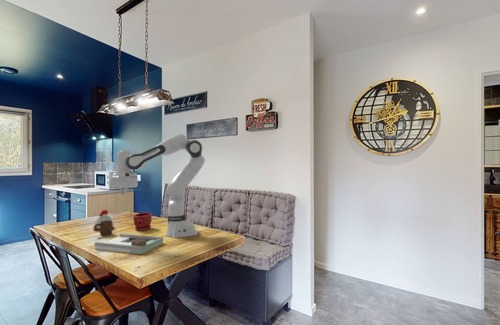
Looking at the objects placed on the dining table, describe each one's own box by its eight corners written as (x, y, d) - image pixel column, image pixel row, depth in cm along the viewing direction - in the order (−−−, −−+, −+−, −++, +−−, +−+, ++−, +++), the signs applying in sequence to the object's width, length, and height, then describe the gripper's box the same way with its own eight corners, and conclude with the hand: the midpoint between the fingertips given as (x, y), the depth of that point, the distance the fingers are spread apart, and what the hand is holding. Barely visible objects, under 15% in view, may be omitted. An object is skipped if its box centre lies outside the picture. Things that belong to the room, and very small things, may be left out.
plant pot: (136, 227, 201) (136, 212, 201) (153, 226, 202) (153, 212, 202) (130, 231, 188) (130, 216, 188) (148, 231, 189) (148, 215, 189)
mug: (96, 238, 172) (96, 224, 172) (91, 236, 176) (91, 223, 177) (114, 233, 182) (114, 221, 182) (108, 232, 186) (108, 220, 187)
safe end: (129, 252, 143) (129, 246, 143) (152, 242, 162) (152, 236, 162) (141, 254, 140) (141, 248, 140) (163, 243, 159) (162, 237, 159)
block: (131, 247, 146) (131, 240, 146) (141, 244, 151) (141, 238, 151) (136, 249, 142) (136, 242, 142) (146, 246, 147) (146, 239, 147)
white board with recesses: (94, 248, 150) (94, 242, 150) (120, 239, 169) (120, 233, 169) (141, 254, 140) (141, 247, 140) (163, 243, 159) (162, 237, 159)
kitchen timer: (117, 227, 203) (117, 208, 203) (104, 231, 189) (103, 212, 189) (103, 226, 206) (103, 208, 206) (89, 230, 192) (88, 211, 192)
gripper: (107, 174, 168) (108, 194, 168) (132, 174, 162) (132, 195, 162) (115, 173, 174) (115, 193, 174) (139, 173, 168) (139, 193, 168)
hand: (123, 194), depth 168 cm, fingers closed
